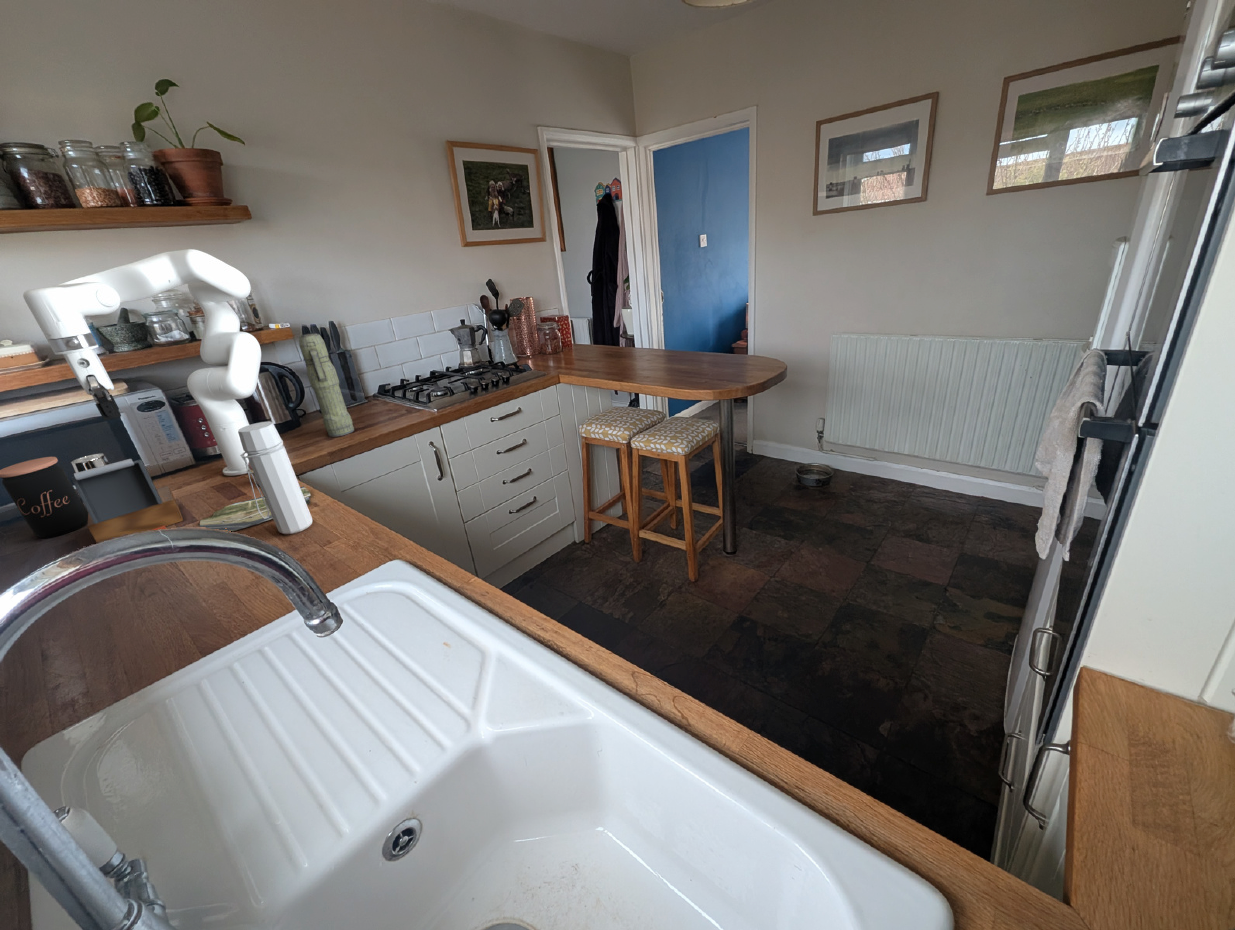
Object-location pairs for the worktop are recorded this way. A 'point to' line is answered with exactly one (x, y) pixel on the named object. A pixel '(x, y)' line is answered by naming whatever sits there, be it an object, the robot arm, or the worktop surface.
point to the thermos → (325, 385)
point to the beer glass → (89, 462)
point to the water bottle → (275, 477)
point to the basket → (116, 489)
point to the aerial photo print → (242, 514)
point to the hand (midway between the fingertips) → (112, 414)
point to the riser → (139, 518)
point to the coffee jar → (45, 497)
